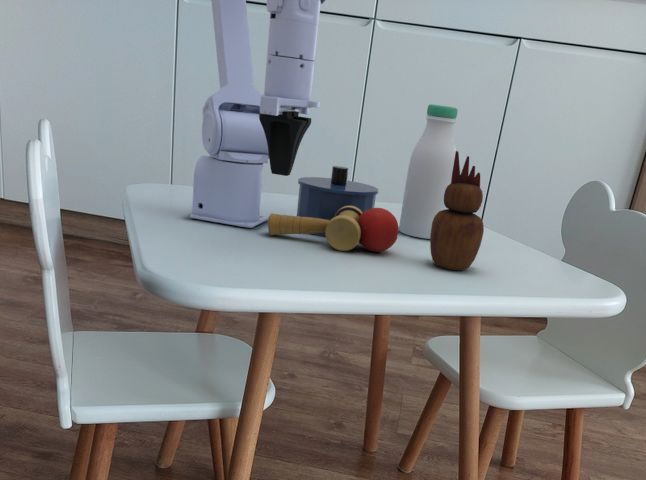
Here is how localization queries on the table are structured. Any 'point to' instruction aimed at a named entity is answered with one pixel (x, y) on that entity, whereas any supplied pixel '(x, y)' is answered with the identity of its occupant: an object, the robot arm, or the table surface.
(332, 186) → the pot lid
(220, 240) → the table surface
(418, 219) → the milk bottle
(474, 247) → the wooden figurine
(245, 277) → the table surface
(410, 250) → the table surface
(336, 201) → the pot
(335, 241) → the kendama
